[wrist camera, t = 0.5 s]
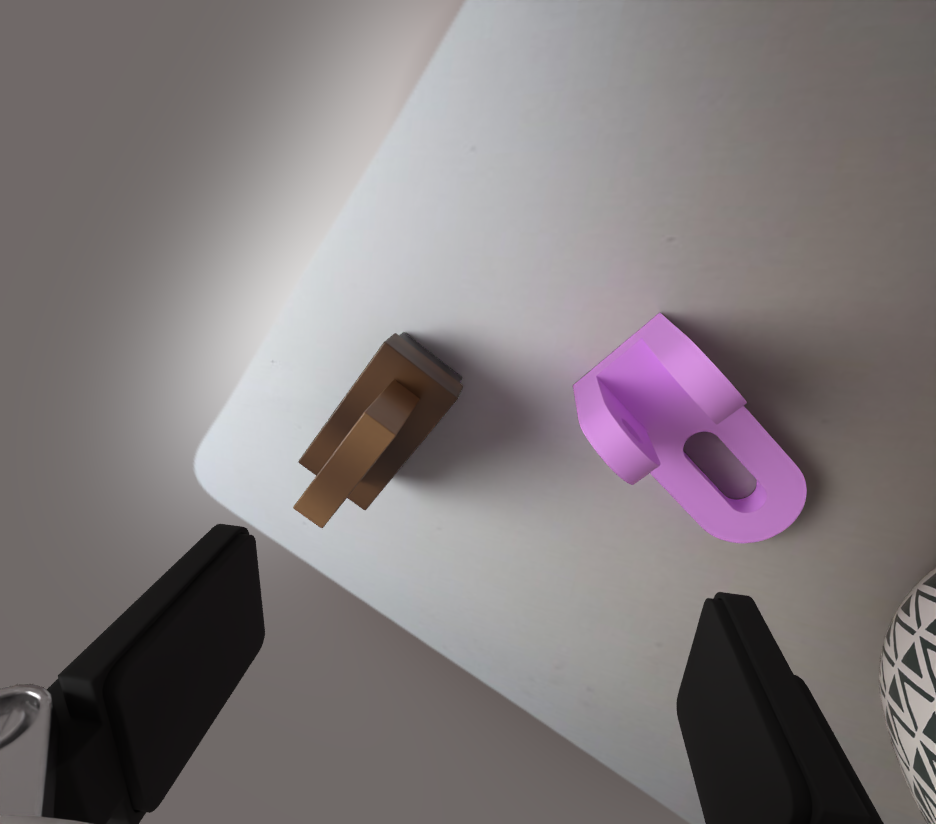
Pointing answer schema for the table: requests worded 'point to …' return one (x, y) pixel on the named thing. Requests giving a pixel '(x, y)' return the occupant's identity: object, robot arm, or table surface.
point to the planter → (913, 691)
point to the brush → (376, 427)
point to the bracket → (685, 432)
